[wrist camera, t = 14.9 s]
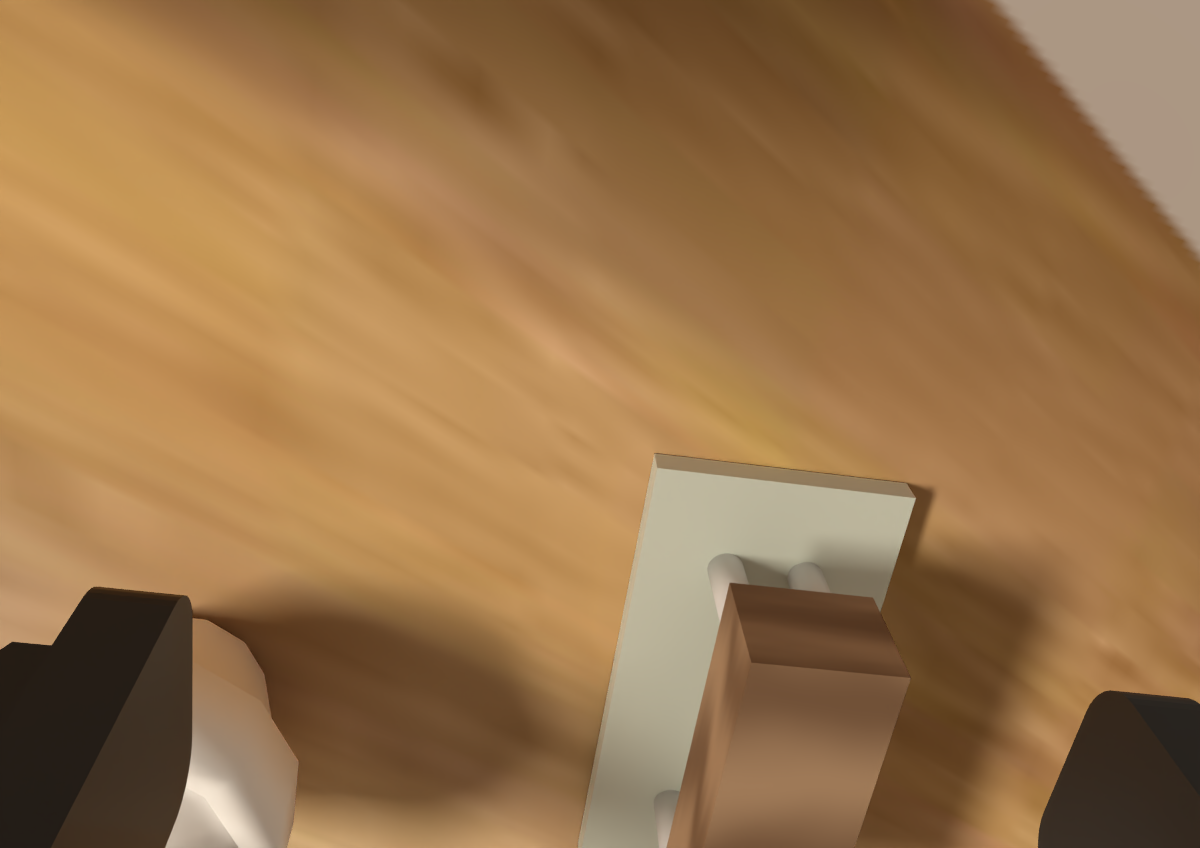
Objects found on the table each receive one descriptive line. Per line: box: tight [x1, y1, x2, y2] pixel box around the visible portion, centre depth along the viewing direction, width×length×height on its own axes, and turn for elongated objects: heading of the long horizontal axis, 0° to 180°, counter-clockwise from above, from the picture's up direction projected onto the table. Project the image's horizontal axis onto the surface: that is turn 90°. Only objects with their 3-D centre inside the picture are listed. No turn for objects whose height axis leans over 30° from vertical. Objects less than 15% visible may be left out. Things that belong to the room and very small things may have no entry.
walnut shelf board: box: [666, 583, 911, 848], centre depth 41 cm, size 16×5×4 cm, turn 171°
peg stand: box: [578, 453, 916, 848], centre depth 45 cm, size 10×20×5 cm, turn 171°
